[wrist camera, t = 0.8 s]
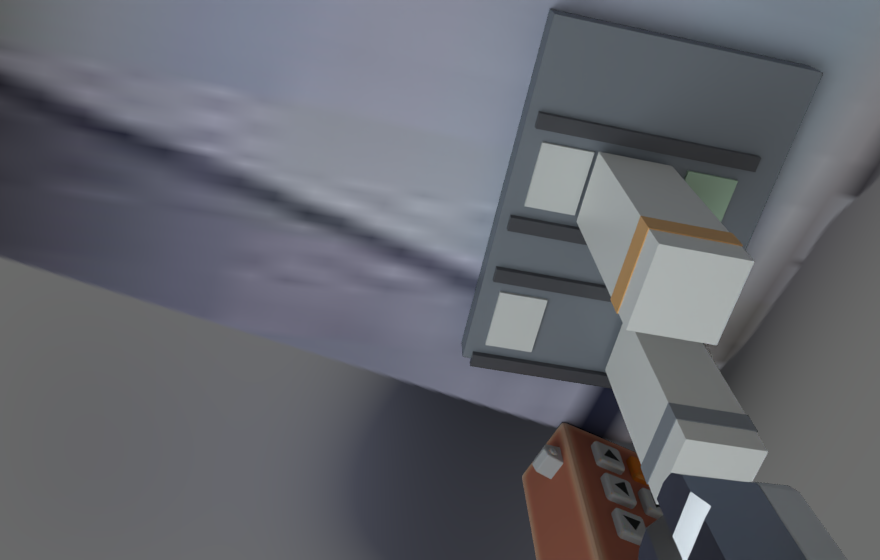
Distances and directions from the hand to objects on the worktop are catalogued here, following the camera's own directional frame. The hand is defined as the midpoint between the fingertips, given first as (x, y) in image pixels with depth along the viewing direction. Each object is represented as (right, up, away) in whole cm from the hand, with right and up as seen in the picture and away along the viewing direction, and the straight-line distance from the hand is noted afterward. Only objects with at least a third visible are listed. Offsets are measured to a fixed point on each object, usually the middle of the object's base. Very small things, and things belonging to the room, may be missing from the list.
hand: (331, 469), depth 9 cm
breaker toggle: (+11, +7, +31) cm, 34 cm away
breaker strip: (+12, +6, +34) cm, 36 cm away
